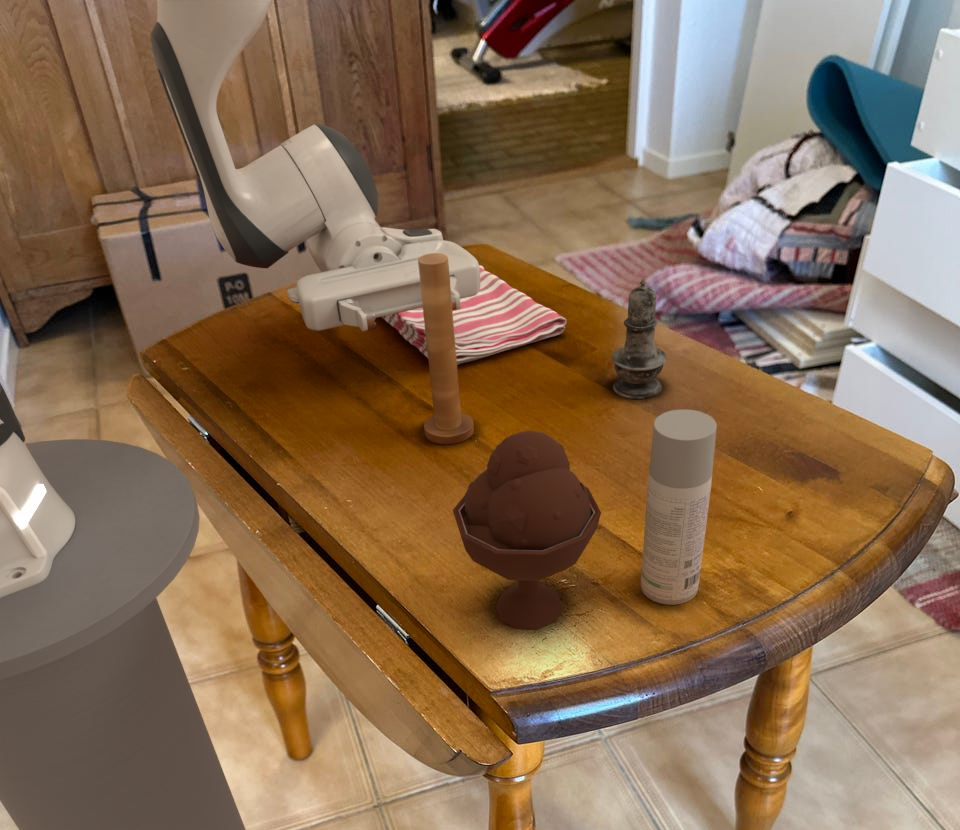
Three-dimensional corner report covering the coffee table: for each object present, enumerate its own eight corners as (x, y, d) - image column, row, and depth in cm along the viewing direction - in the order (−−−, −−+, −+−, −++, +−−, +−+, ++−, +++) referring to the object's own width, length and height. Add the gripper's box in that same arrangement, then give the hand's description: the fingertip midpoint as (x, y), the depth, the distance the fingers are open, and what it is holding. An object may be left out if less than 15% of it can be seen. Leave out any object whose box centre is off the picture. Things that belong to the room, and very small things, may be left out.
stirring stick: (447, 450, 95) (430, 273, 83) (414, 433, 98) (393, 260, 86) (484, 430, 97) (472, 256, 85) (450, 414, 100) (435, 244, 88)
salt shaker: (650, 371, 105) (657, 264, 97) (673, 393, 101) (683, 283, 92) (602, 381, 104) (605, 273, 96) (623, 404, 99) (628, 294, 91)
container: (687, 565, 78) (705, 404, 68) (706, 600, 75) (728, 435, 65) (633, 574, 78) (644, 413, 68) (650, 609, 75) (663, 445, 64)
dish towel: (445, 375, 107) (443, 346, 105) (367, 308, 123) (363, 282, 121) (570, 337, 113) (570, 309, 110) (480, 278, 128) (478, 252, 126)
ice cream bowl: (439, 596, 77) (420, 437, 67) (552, 551, 81) (550, 394, 71) (503, 671, 70) (493, 505, 60) (623, 618, 74) (633, 454, 64)
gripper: (277, 260, 101) (310, 304, 92) (450, 225, 107) (498, 263, 97) (288, 317, 106) (321, 364, 96) (454, 280, 111) (501, 321, 101)
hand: (412, 313), depth 96 cm, fingers open, 8 cm apart
